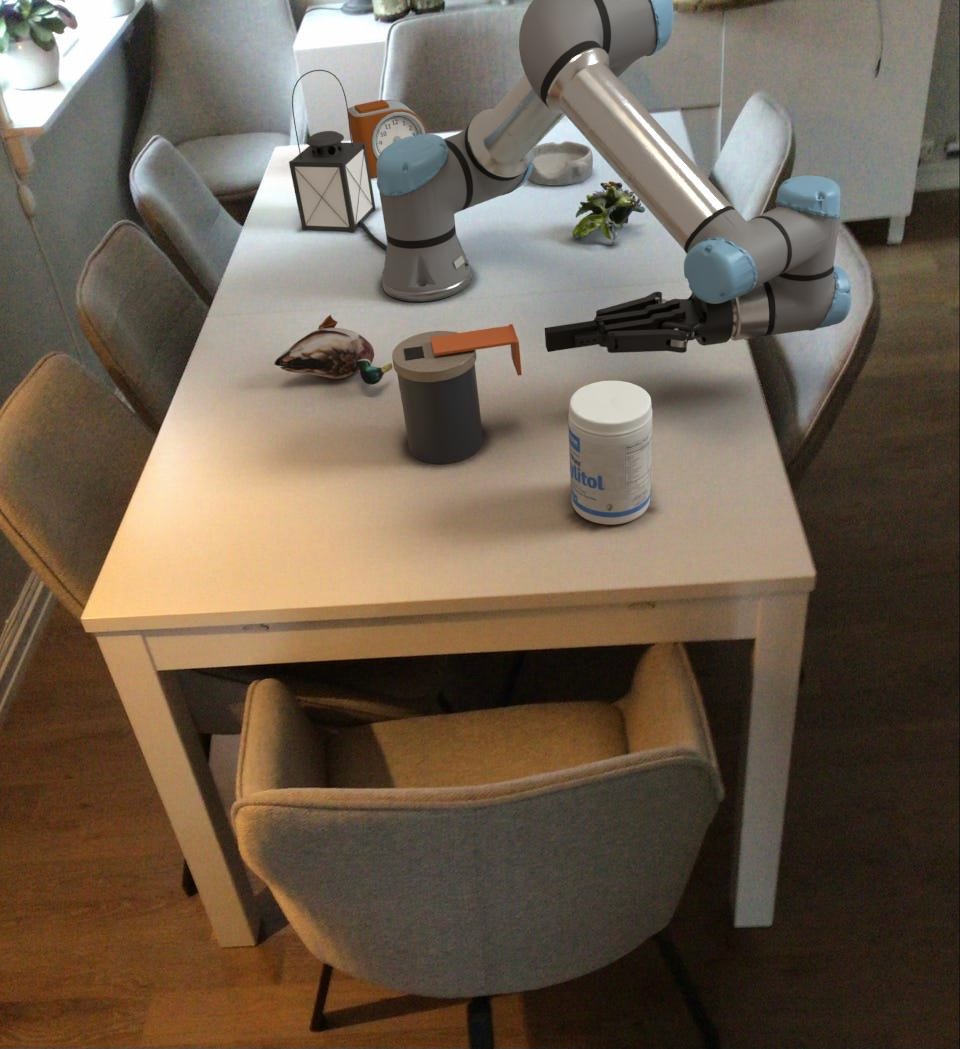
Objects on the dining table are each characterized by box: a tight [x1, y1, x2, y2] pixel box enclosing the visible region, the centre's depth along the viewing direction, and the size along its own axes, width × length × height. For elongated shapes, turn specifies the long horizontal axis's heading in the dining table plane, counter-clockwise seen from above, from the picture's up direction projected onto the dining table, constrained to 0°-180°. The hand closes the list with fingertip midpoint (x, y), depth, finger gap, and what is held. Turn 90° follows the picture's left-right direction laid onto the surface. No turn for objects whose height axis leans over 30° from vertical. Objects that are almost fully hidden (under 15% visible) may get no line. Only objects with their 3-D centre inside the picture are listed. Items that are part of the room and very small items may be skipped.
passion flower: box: [571, 180, 646, 247], centre depth 191 cm, size 11×11×12 cm
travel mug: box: [391, 330, 484, 465], centre depth 141 cm, size 11×11×14 cm
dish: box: [527, 140, 594, 186], centre depth 218 cm, size 14×14×5 cm
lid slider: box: [430, 323, 523, 376], centre depth 138 cm, size 11×5×5 cm, turn 98°
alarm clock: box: [347, 99, 428, 179], centre depth 228 cm, size 15×8×14 cm, turn 111°
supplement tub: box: [567, 380, 653, 526], centre depth 126 cm, size 10×10×15 cm
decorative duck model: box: [273, 314, 393, 385], centre depth 158 cm, size 15×8×15 cm
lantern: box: [288, 69, 377, 233], centre depth 203 cm, size 11×11×28 cm
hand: (546, 339), depth 138 cm, fingers closed
